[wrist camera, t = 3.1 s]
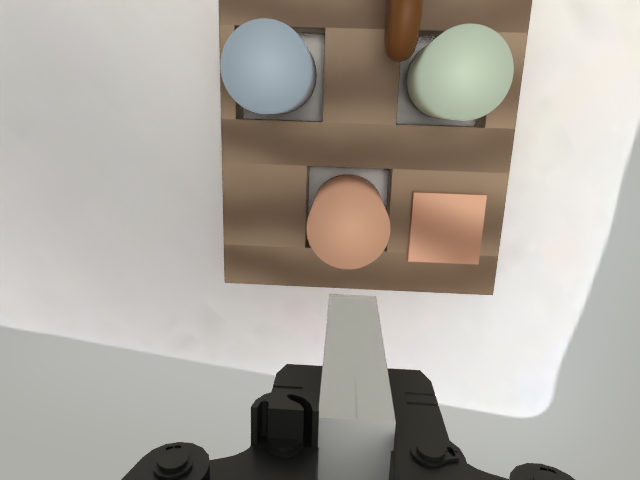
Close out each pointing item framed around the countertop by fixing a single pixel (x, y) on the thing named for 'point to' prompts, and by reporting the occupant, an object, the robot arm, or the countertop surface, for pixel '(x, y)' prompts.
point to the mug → (402, 28)
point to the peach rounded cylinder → (348, 223)
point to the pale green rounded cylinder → (461, 73)
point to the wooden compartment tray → (370, 156)
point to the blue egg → (267, 67)
